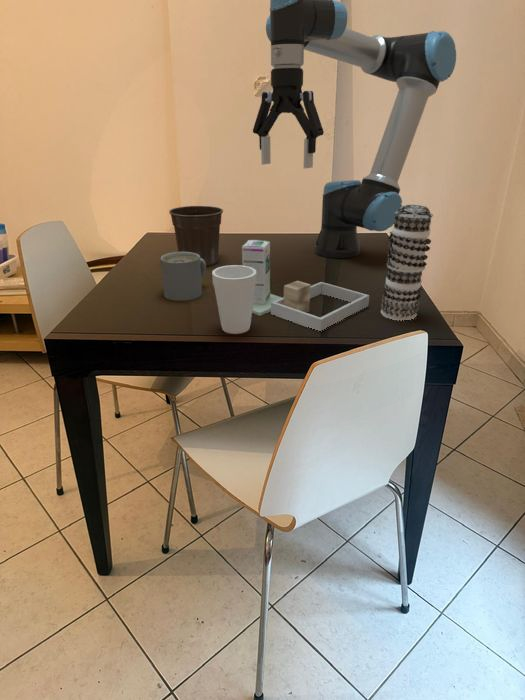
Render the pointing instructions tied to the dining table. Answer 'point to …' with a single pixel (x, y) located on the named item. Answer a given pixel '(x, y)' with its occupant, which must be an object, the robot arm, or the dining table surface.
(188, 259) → the coffee mug
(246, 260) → the syrup box
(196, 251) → the plant pot
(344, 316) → the parts bin
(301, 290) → the beech block
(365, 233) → the dining table surface
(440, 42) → the robot arm
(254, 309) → the sage pad
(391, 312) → the decorative candle
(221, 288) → the foam cup
